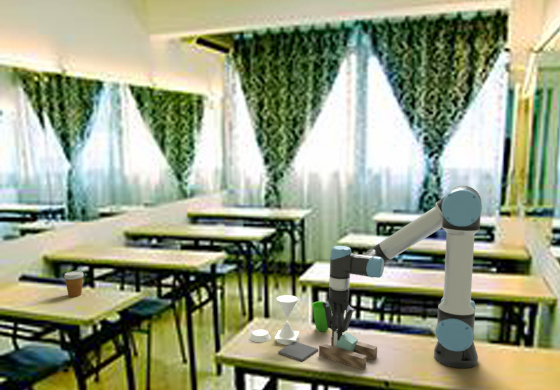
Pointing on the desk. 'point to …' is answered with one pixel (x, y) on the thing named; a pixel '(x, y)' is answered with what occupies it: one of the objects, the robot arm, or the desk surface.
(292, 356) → the rubber mat
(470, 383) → the desk surface
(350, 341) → the teal block
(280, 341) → the hourglass
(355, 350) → the parallel wooden bars
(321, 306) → the cup
